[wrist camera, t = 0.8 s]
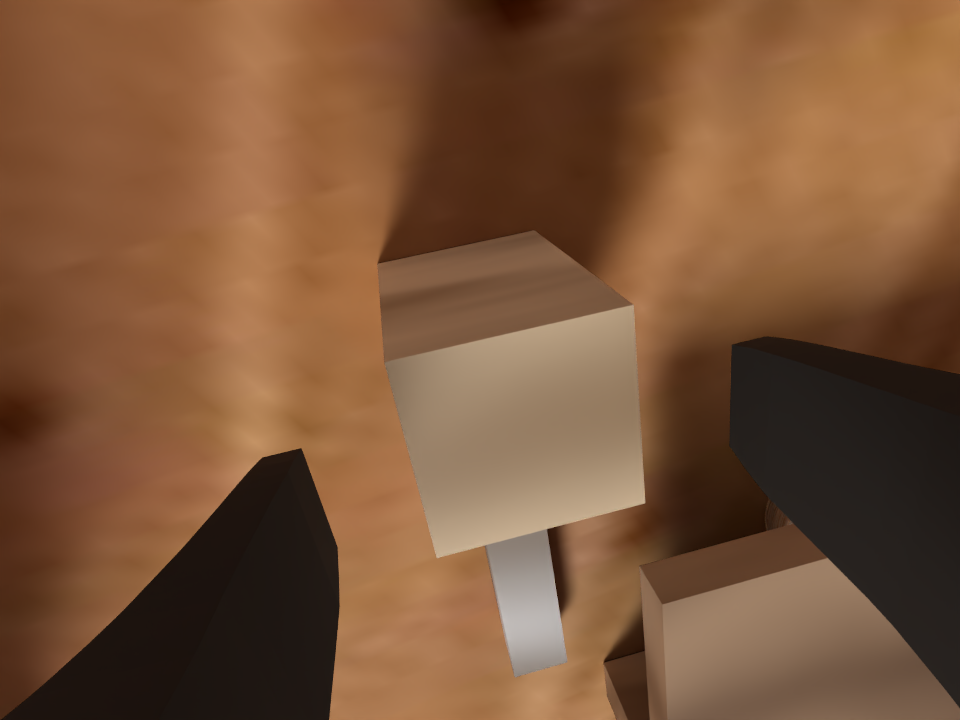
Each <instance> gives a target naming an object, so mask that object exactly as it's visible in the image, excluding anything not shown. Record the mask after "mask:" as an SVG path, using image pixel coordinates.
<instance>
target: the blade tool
mask: <svg viewBox="0 0 960 720" xmlns="http://www.w3.org/2000/svg"><path fill="white" fill-rule="evenodd" d="M377 265H378V279H379V293H380V308H381V322H382V336H383V350H384V363H385V366H386V370H387V374H388V378H389V381H390V385H391V389H392V393H393V396H394V400H395V404H396V407H397V411H398V415H399V419H400V422H401V426H402V430H403V434H404V437H405V441H406V445H407V449H408V452H409V456H410V460H411V464H412V467H413V471H414V475H415V478H416V482H417V486H418V490H419V493H420V497H421V501H422V505H423V508H424V512H425V516H426V520H427V523H428V527H429V531H430V534H431V538H432V542H433V546H434V549H435V553H436V557H437V558H439V557H443V556H447V555H450V554H454V553H458V552H462V551H466V550H469V549H473V548H477V547H481V546H485V549H486V554H487V558H488V563H489V567H490V572H491V577H492V581H493V586H494V590H495V595H496V600H497V604H498V609H499V613H500V618H501V623H502V627H503V632H504V636H505V641H506V645H507V649H508V653H509V657H510V660H511V664H512V668H513V672H514V676H515V677H517V676H521V675H524V674H528V673H531V672H535V671H538V670H542V669H545V668H549V667H552V666H556V665H559V664H563V663H566V662H567V657H566V650H565V644H564V637H563V631H562V624H561V618H560V611H559V605H558V598H557V592H556V585H555V579H554V572H553V566H552V560H551V553H550V547H549V540H548V534H547V529H549V528H553V527H557V526H561V525H564V524H568V523H572V522H576V521H580V520H583V519H587V518H591V517H595V516H599V515H602V514H606V513H610V512H614V511H618V510H621V509H625V508H629V507H633V506H637V505H640V504H644V503H645V490H644V473H643V456H642V439H641V422H640V405H639V388H638V371H637V353H636V336H635V319H634V305H633V304H632V303H631V302H629V301H628V300H627V299H625V298H624V297H623V296H621V295H620V294H619V293H617V292H616V291H615V290H613V289H612V288H611V287H609V286H608V285H607V284H605V283H604V282H603V281H601V280H600V279H599V278H597V277H596V276H595V275H593V274H592V273H591V272H589V271H588V270H587V269H585V268H584V267H583V266H581V265H580V264H579V263H577V262H576V261H575V260H573V259H572V258H571V257H569V256H568V255H567V254H565V253H564V252H563V251H561V250H560V249H559V248H557V247H556V246H555V245H553V244H552V243H551V242H549V241H548V240H547V239H545V238H544V237H543V236H541V235H540V234H539V233H537V232H536V231H535V230H533V231H529V232H524V233H519V234H515V235H510V236H505V237H501V238H496V239H491V240H487V241H482V242H477V243H473V244H468V245H463V246H459V247H454V248H449V249H445V250H440V251H435V252H431V253H426V254H421V255H416V256H412V257H407V258H402V259H398V260H393V261H388V262H384V263H379V264H377Z"/></svg>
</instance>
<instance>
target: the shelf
mask: <svg viewBox="0 0 960 720" xmlns="http://www.w3.org/2000/svg"><path fill="white" fill-rule="evenodd" d="M639 567H640V582H641V597H642V612H643V627H644V642H645V651H643V652H639V653H636V654H632V655H629V656H625V657H622V658H618V659H615V660H611V661H608V662H605V663H604V671H605V680H606V688H607V697H608V700H609V702H610V704H611V707H612V709H613V712H614V714H615V717H616V719H617V720H960V708H959V707H958V705H957V704H956V703H955V702H954V700H953V699H952V698H951V696H950V695H949V694H948V693H947V691H946V690H945V689H944V687H943V686H942V685H941V684H940V683H939V681H938V680H937V679H936V678H935V676H934V675H933V674H932V673H931V672H930V670H929V669H928V668H927V667H926V666H925V664H924V663H923V662H922V661H921V659H920V658H919V657H918V656H917V655H916V653H915V652H914V651H913V650H912V648H911V647H910V646H909V645H908V644H907V642H906V641H905V640H904V639H903V638H902V636H901V635H900V634H899V633H898V631H897V630H896V629H895V628H894V627H893V625H892V624H891V623H890V622H889V621H888V620H887V619H886V618H885V617H884V616H883V615H882V613H881V612H880V611H879V610H878V609H877V608H876V607H875V606H874V605H873V604H872V603H871V602H870V600H869V599H868V598H867V597H866V596H865V595H864V594H863V593H862V592H861V591H860V590H859V589H858V588H857V587H856V586H855V585H854V584H853V583H852V582H851V581H850V580H849V579H848V578H847V577H846V576H845V575H844V574H843V573H842V572H841V571H840V570H839V569H838V568H837V567H836V566H835V565H834V564H833V563H832V562H831V561H830V560H829V559H828V558H827V557H826V556H825V555H824V554H823V553H822V552H821V551H820V550H819V549H818V548H817V547H816V546H815V545H814V544H813V543H812V542H811V541H810V540H809V539H808V538H807V537H806V536H805V535H804V534H803V533H802V532H801V531H800V530H799V529H798V528H797V527H796V526H795V525H794V524H791V525H787V526H783V527H780V528H776V529H773V530H769V531H765V532H762V533H758V534H754V535H751V536H747V537H743V538H740V539H736V540H732V541H729V542H725V543H721V544H718V545H714V546H710V547H707V548H703V549H699V550H696V551H692V552H688V553H685V554H681V555H677V556H674V557H670V558H666V559H663V560H659V561H655V562H652V563H648V564H645V565H641V566H639Z"/></svg>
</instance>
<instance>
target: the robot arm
mask: <svg viewBox="0 0 960 720" xmlns="http://www.w3.org/2000/svg"><path fill="white" fill-rule="evenodd" d="M729 446H730V448H731V449H732V450H733V452H734V453H735V455H736V456H737V457H738V459H739V460H740V462H741V463H742V464H743V466H744V467H745V469H746V470H747V472H748V473H749V474H750V475H751V477H752V478H753V479H754V481H755V482H756V483H757V484H758V486H759V487H760V488H761V490H762V491H763V492H764V493H765V494H766V495H767V497H768V498H769V499H770V500H771V501H772V502H773V503H774V504H775V505H776V506H777V507H778V508H779V509H780V510H781V511H782V512H783V513H784V514H785V515H786V516H787V517H788V518H789V519H790V520H791V522H792V523H793V524H794V525H795V526H796V527H797V528H798V529H799V530H800V531H801V532H802V533H803V534H804V535H805V536H806V537H807V538H808V539H809V540H810V541H811V542H812V543H813V544H814V545H815V546H816V547H817V548H818V549H819V550H820V551H821V552H822V553H823V554H824V555H825V556H826V557H827V558H828V559H829V560H830V561H831V562H832V563H833V564H834V565H835V566H836V567H837V568H838V569H839V570H840V571H841V572H842V573H843V574H844V575H845V576H846V577H847V578H848V579H849V580H850V581H851V582H852V583H853V584H854V585H855V586H856V587H857V588H858V589H859V590H860V591H861V592H862V593H863V594H864V595H865V596H866V597H867V598H868V599H869V600H870V602H871V603H872V604H873V605H874V606H875V607H876V608H877V609H878V610H879V611H880V612H881V613H882V615H883V616H884V617H885V618H886V619H887V620H888V621H889V622H890V623H891V624H892V625H893V627H894V628H895V629H896V630H897V631H898V633H899V634H900V635H901V636H902V638H903V639H904V640H905V641H906V642H907V644H908V645H909V646H910V647H911V648H912V650H913V651H914V652H915V653H916V655H917V656H918V657H919V658H920V659H921V661H922V662H923V663H924V664H925V666H926V667H927V668H928V669H929V670H930V672H931V673H932V674H933V675H934V676H935V678H936V679H937V680H938V681H939V683H940V684H941V685H942V686H943V687H944V689H945V690H946V691H947V693H948V694H949V695H950V696H951V698H952V699H953V700H954V702H955V703H956V704H957V705H958V707H959V708H960V374H955V373H950V372H945V371H940V370H935V369H930V368H925V367H920V366H915V365H911V364H906V363H901V362H897V361H892V360H887V359H883V358H878V357H874V356H869V355H865V354H860V353H855V352H851V351H846V350H842V349H837V348H832V347H828V346H823V345H818V344H813V343H808V342H802V341H797V340H791V339H784V338H776V337H762V338H757V339H753V340H749V341H745V342H741V343H737V344H733V345H732V357H731V400H730V443H729ZM338 618H339V571H338V549H337V545H336V542H335V539H334V536H333V534H332V531H331V528H330V525H329V523H328V520H327V517H326V514H325V512H324V509H323V506H322V503H321V501H320V498H319V495H318V492H317V490H316V487H315V484H314V481H313V479H312V476H311V473H310V470H309V468H308V465H307V462H306V459H305V457H304V454H303V451H302V448H300V449H296V450H292V451H288V452H284V453H280V454H276V455H271V456H267V457H263V458H262V459H261V460H260V461H259V462H258V463H256V464H255V466H254V467H253V468H252V469H251V470H250V471H249V472H248V473H247V474H246V476H245V477H244V478H243V479H242V480H241V481H240V482H239V484H238V485H237V486H236V487H235V488H234V489H233V491H232V492H231V493H230V494H229V495H228V496H227V498H226V499H225V500H224V501H223V502H222V504H221V505H220V506H219V507H218V508H217V509H216V510H215V512H214V513H213V514H212V515H211V516H210V517H209V518H208V520H207V521H206V522H205V523H204V524H203V525H202V527H201V528H200V529H199V530H198V531H197V532H196V533H195V535H194V536H193V537H192V538H191V539H190V540H189V541H188V543H187V544H186V545H185V546H184V547H183V548H182V549H181V550H180V551H179V552H178V554H177V555H176V556H175V557H174V558H173V559H172V560H171V561H170V562H169V563H168V564H167V565H166V566H165V567H164V568H163V569H162V570H161V571H160V573H159V574H158V575H157V576H156V577H155V578H154V579H153V580H152V581H151V582H150V583H149V584H148V585H147V586H146V587H145V588H144V589H143V590H142V591H141V593H140V594H139V595H138V596H137V597H136V598H135V599H134V600H133V601H132V602H131V603H130V604H129V605H128V606H127V607H126V608H125V609H124V610H123V611H122V612H121V613H120V614H119V615H118V616H117V617H116V618H115V619H114V620H113V621H112V622H111V623H110V624H109V625H108V626H107V627H106V628H105V629H104V630H103V631H102V632H101V633H100V634H98V635H97V636H96V637H95V638H94V639H93V640H92V641H91V642H90V643H89V644H88V645H87V646H86V647H85V648H83V649H82V650H81V651H80V652H79V653H78V654H77V655H76V656H75V657H74V658H72V659H71V660H70V661H69V662H68V663H67V664H66V665H65V666H64V667H63V668H61V669H60V670H59V671H58V672H57V673H56V674H55V675H54V676H53V677H51V678H50V679H49V680H48V681H47V682H46V683H45V684H44V685H42V686H41V687H40V688H39V689H38V690H37V691H35V692H34V693H33V694H32V695H31V696H30V697H29V698H27V699H26V700H25V701H24V702H22V703H21V704H20V705H19V706H18V707H16V708H15V709H14V710H13V711H11V712H10V713H9V714H8V715H7V716H5V717H4V718H3V719H2V720H329V714H330V704H331V693H332V683H333V673H334V663H335V652H336V641H337V630H338Z"/></svg>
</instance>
